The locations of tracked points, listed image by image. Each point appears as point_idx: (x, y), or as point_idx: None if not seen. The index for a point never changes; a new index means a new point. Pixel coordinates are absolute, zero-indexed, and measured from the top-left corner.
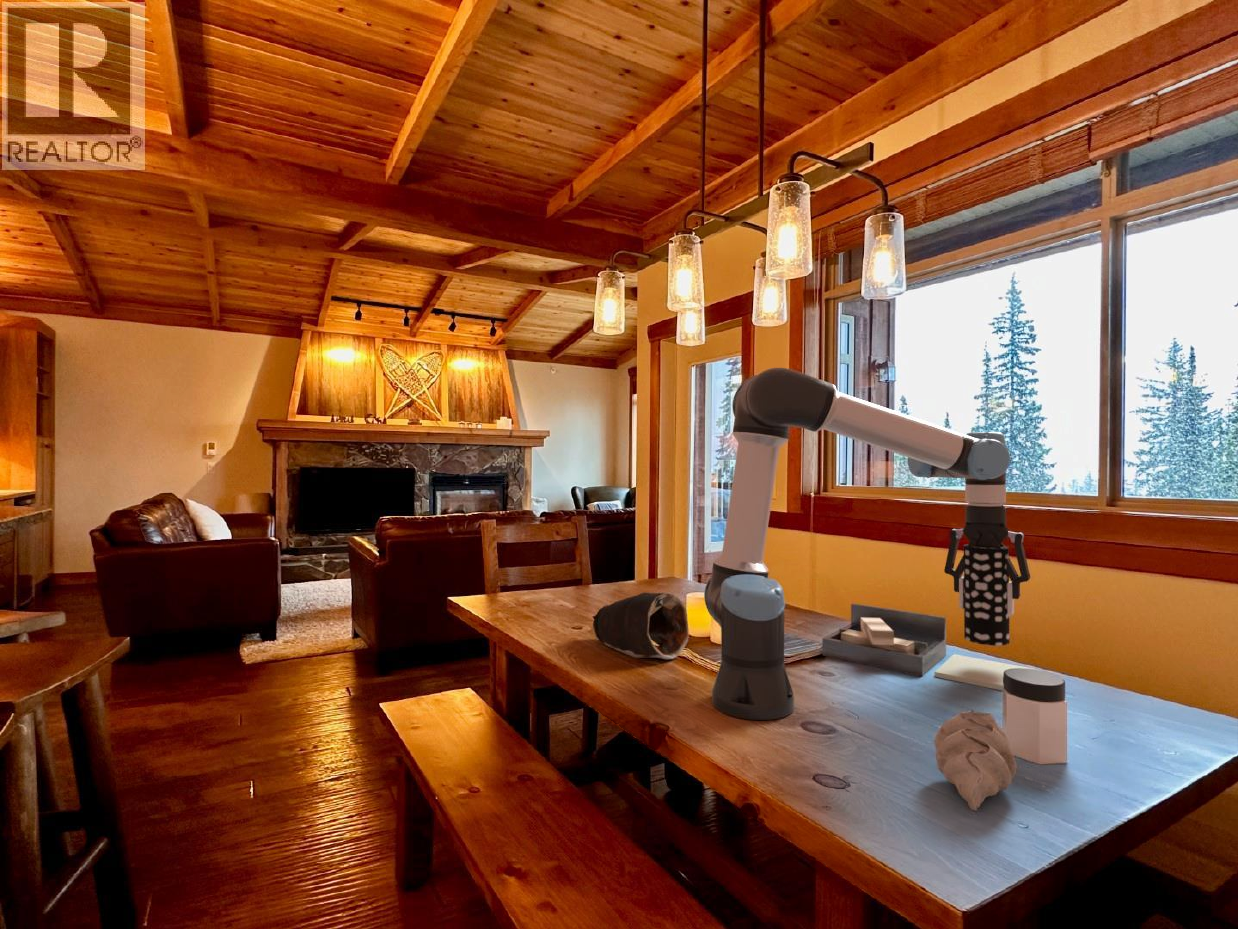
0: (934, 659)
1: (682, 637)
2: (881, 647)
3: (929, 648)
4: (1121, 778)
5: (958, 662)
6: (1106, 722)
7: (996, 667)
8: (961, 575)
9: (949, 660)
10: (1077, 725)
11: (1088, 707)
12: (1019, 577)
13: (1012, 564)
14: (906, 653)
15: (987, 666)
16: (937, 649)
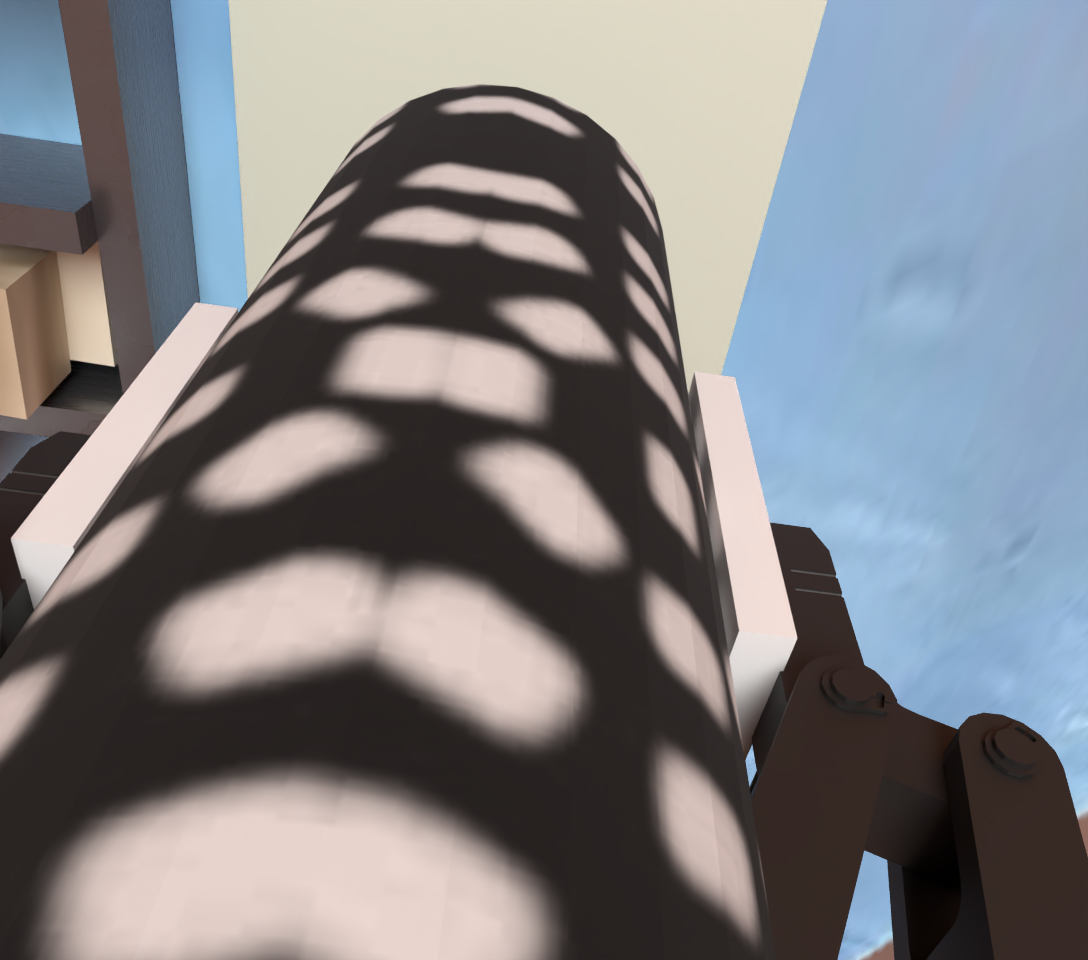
0: (166, 146)
1: None
2: None
3: (113, 224)
4: (867, 882)
5: (314, 82)
6: (985, 574)
7: (567, 62)
8: (9, 601)
9: (248, 64)
10: (858, 645)
11: (976, 440)
12: (869, 841)
13: (835, 947)
14: (59, 421)
15: (508, 72)
16: (132, 73)
